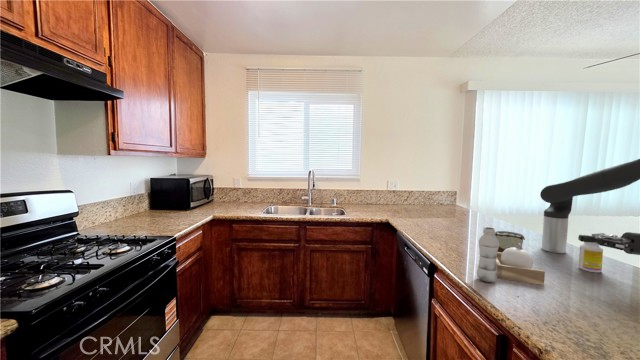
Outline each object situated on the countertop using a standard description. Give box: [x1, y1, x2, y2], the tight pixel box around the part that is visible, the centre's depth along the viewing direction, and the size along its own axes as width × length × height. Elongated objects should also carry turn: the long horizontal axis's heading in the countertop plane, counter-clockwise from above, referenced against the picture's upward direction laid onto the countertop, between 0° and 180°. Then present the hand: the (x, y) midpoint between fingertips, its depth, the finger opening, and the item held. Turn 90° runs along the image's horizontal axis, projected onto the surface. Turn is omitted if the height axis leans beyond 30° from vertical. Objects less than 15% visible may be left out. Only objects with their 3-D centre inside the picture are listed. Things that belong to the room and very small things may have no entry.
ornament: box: [501, 244, 534, 269], centre depth 105 cm, size 10×10×12 cm
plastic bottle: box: [476, 226, 499, 283], centre depth 98 cm, size 6×7×20 cm
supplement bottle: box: [578, 242, 604, 274], centre depth 108 cm, size 7×7×13 cm
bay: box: [496, 252, 546, 286], centre depth 105 cm, size 17×14×5 cm
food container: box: [494, 230, 526, 253], centre depth 128 cm, size 12×6×10 cm, turn 58°
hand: (579, 237), depth 97 cm, fingers closed
